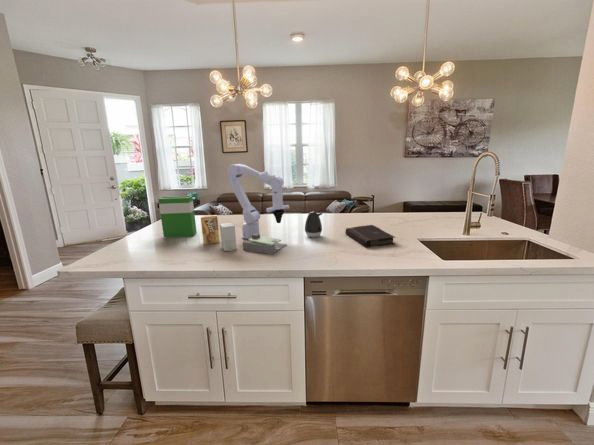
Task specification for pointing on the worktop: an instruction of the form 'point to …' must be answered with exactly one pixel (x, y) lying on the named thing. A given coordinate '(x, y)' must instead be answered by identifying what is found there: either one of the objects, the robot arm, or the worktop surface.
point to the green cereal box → (177, 216)
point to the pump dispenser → (313, 224)
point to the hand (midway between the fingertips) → (278, 222)
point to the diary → (370, 236)
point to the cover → (263, 239)
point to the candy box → (210, 229)
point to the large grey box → (262, 247)
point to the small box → (228, 236)
